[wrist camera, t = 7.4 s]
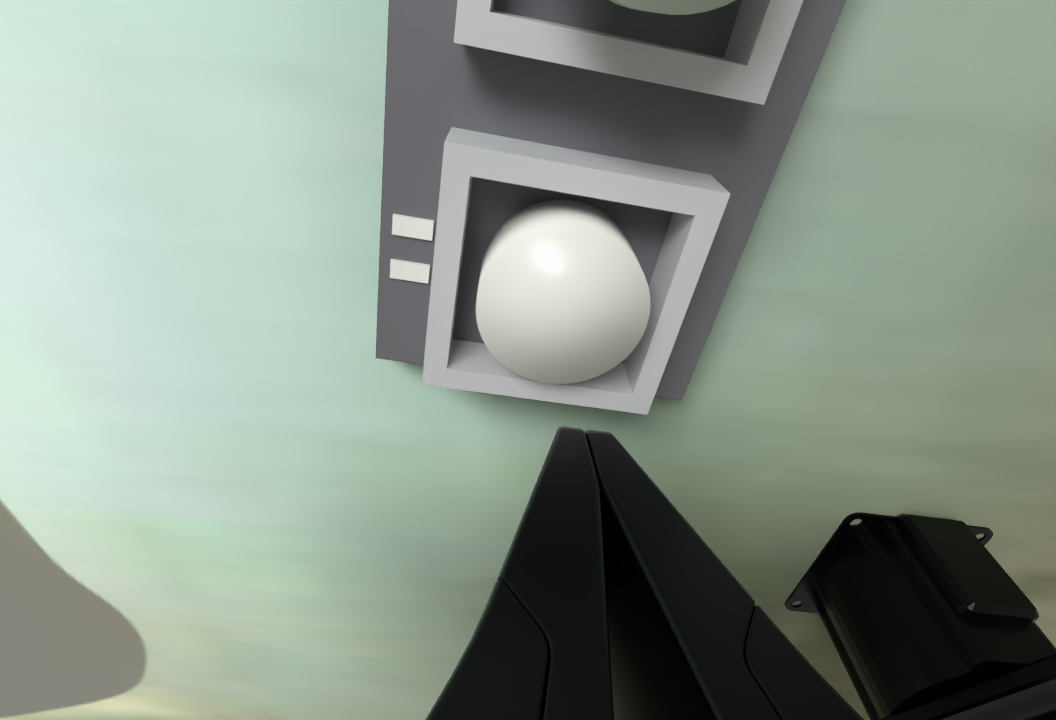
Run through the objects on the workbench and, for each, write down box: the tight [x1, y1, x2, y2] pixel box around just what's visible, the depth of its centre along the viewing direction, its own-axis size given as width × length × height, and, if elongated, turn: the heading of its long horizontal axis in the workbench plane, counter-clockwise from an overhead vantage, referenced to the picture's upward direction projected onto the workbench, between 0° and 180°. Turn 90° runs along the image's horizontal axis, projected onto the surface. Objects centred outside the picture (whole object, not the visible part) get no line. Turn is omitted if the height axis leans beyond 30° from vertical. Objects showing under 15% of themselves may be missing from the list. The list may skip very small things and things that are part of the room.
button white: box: [476, 200, 651, 384], centre depth 14 cm, size 4×4×2 cm
